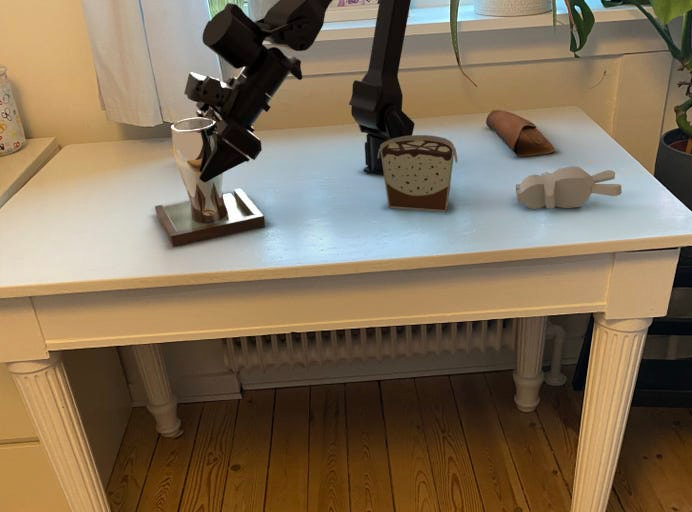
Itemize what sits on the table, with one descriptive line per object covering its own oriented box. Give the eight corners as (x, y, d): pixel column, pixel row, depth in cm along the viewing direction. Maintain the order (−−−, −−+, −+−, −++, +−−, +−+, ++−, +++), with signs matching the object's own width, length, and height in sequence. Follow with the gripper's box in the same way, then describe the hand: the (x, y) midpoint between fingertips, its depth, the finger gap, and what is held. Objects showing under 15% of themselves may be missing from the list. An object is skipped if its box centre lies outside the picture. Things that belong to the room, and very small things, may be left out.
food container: (464, 197, 121) (465, 135, 115) (455, 212, 116) (456, 148, 110) (390, 192, 124) (388, 132, 119) (379, 207, 120) (376, 145, 114)
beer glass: (222, 228, 116) (206, 131, 108) (181, 227, 117) (161, 131, 109) (237, 210, 122) (223, 117, 113) (197, 209, 123) (180, 117, 115)
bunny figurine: (513, 168, 119) (612, 155, 116) (515, 198, 122) (612, 186, 119) (517, 190, 111) (624, 177, 108) (519, 222, 114) (623, 210, 111)
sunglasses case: (559, 150, 135) (543, 120, 131) (525, 173, 136) (509, 144, 133) (526, 121, 149) (511, 94, 146) (496, 143, 151) (480, 115, 147)
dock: (153, 210, 124) (151, 199, 123) (237, 192, 129) (235, 182, 128) (173, 247, 112) (170, 236, 111) (265, 226, 116) (263, 215, 115)
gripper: (199, 39, 114) (141, 124, 117) (226, 63, 100) (160, 159, 103) (256, 85, 121) (200, 164, 124) (289, 113, 106) (225, 202, 109)
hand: (195, 171), depth 115 cm, fingers open, 9 cm apart
